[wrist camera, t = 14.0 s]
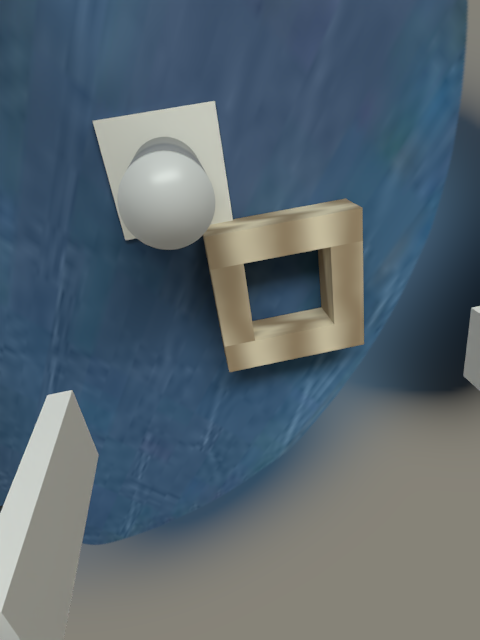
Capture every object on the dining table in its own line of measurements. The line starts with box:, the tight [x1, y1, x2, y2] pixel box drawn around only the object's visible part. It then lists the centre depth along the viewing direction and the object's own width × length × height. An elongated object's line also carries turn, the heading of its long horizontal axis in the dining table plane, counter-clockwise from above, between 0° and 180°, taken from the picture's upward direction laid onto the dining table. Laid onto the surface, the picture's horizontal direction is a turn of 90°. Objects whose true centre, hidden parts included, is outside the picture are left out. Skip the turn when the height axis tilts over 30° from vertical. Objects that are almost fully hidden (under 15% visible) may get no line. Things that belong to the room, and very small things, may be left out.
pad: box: [93, 101, 233, 240], centre depth 38 cm, size 10×10×1 cm
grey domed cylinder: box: [117, 137, 215, 250], centre depth 32 cm, size 6×6×12 cm
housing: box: [203, 199, 364, 372], centre depth 43 cm, size 14×14×4 cm
